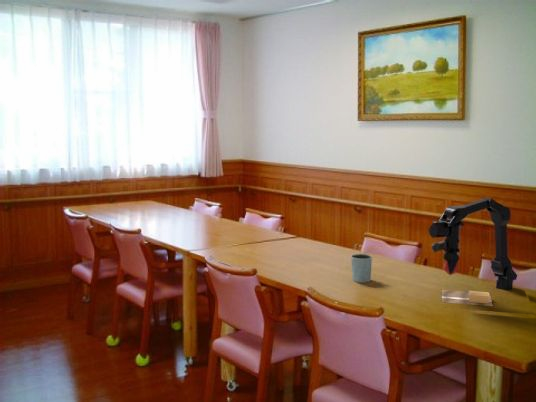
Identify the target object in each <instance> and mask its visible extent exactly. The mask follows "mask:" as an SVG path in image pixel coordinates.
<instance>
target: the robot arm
mask: <svg viewBox="0 0 536 402" xmlns="http://www.w3.org/2000/svg"><path fill="white" fill-rule="evenodd" d="M483 210H486V211H487V212H488V213H489V216H490V220H491V222H492V223H493V226H494V240H495V241H494V242H495V257H494V258H493V259H491V260H490V263H491V265H490V266H491V267H490V269H491V270H492V272H493V275H494V277H496V279H495V288H496V289H498V290H502V291H503V290H504V291H510V290H511V291H512V290H513V286H514V285H513V284H514V281H516V280H517V278H518V275H517V273H516V272H515V271H514V269H513V265H512V261H511V260H510V258H509V255H508V252H509V251H508V224H509V222H510V220H511V213H512V212H511V208H510V207H508V206H505V205H503V204H501V203H499V202H497V201H496V200H495V199H494V198H490V197H483V198H481V199H478V200H475V201H472V202H469V203H466V204H464V205H463V204H462V205H452V206H450V205H449V206H447V207H446V208H445V209H444V212H443V213H442V215H441V217H440V218H439V220H438V221H432V224H431V225H430V226H429V228H428V232H429V236H430V237H431V238H432V239H435V238H436V239H437V238H444V240H441V241H437V242H433V243H432V244H431V250H432V251H433V253H437V252H441V251H444V252H443V260H445V262H446V261H447V262H448V268H449V273H451V274H452V272H453V270H454V268H455V266H456V264H457V265H458V262H459V260H460V235H461V234H460V233H461V232H460V231H461V227H463V226H465V223H464V222H463V221H462V220H464V219H466V218H467V216H469V215H472V214H474V213H477V212H480V211H483ZM452 275H453V274H452Z"/></svg>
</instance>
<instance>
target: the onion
mask: <svg viewBox="0 0 536 402" xmlns="http://www.w3.org/2000/svg"><path fill="white" fill-rule="evenodd" d="M443 269H444V270H443V271H445V272H446V274H448V275H449V276H452V275H455V273H456V272H457V271H458V269H459V265H458V263H457V264H456V266H455V268H454V270H453V272H452V274H451V273H449V268H448V262H447V261H446V260H445V262H444V264H443Z"/></svg>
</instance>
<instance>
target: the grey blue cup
mask: <svg viewBox="0 0 536 402" xmlns="http://www.w3.org/2000/svg"><path fill="white" fill-rule="evenodd" d="M350 262H351V272H352V273H351V274H352V281H353V282H355V283H359V284H361V283H362V284H365V283H369V282H371V279H372V278H371V277H372V275H371V274H372V262H373V256H372V255H371V254H365V253H357V254H356V253H355V254H352V255H350Z"/></svg>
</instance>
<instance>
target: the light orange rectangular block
mask: <svg viewBox="0 0 536 402" xmlns="http://www.w3.org/2000/svg"><path fill="white" fill-rule="evenodd" d="M468 292H469V302H479V303H489V294H490V292H487V291H475V290H469V291H468Z"/></svg>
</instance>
